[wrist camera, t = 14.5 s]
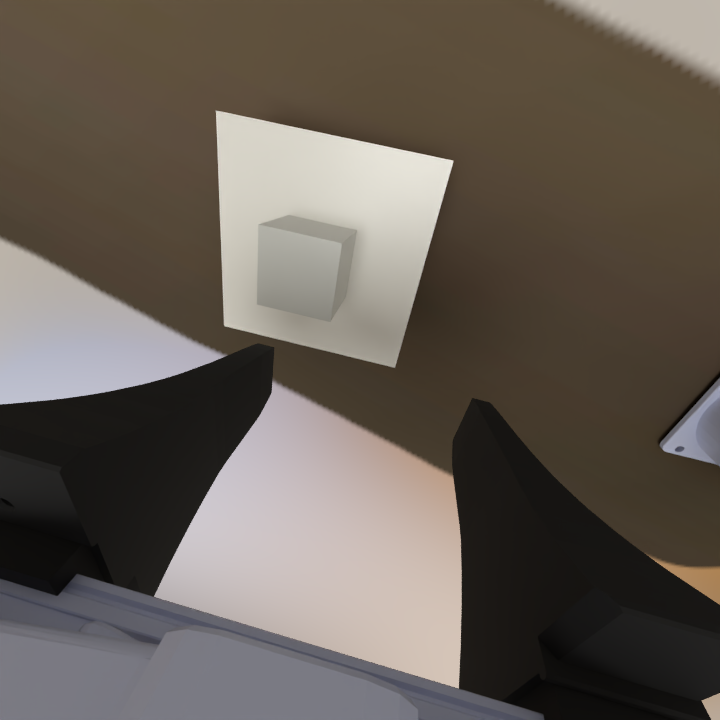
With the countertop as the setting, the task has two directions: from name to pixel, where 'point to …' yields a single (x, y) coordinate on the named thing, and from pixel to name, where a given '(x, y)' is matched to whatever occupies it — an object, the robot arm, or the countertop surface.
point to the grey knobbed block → (323, 235)
